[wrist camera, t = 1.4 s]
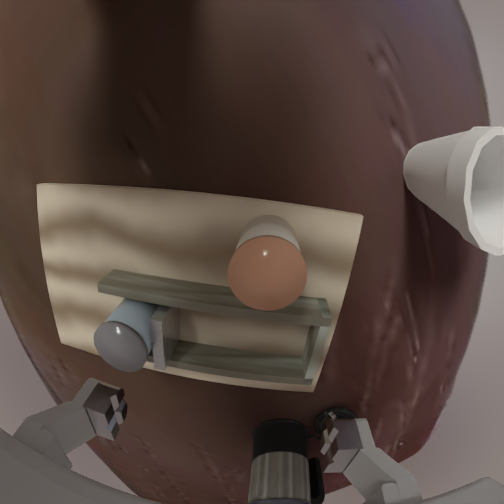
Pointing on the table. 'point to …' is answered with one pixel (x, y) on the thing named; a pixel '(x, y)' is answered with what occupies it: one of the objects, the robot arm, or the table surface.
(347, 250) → the cream rippled cloth
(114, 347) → the jar
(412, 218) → the table surface
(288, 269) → the jar
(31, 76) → the table surface
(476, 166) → the foam cup
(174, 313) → the pusher
